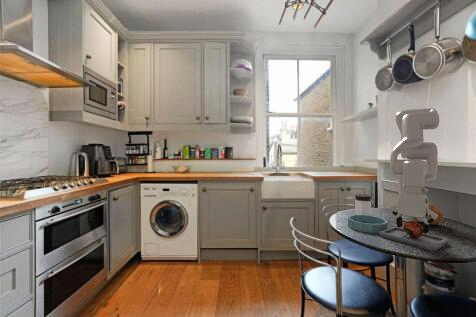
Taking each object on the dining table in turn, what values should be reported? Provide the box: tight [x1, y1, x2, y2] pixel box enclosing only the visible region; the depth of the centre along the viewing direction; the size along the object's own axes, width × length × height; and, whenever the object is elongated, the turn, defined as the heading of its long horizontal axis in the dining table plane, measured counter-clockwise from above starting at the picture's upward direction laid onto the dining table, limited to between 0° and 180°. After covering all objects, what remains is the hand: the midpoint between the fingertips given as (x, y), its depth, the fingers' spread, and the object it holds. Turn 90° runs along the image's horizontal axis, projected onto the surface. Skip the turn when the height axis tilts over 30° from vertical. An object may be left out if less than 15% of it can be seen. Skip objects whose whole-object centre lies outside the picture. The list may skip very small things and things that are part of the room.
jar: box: [354, 193, 372, 216], centre depth 143 cm, size 9×8×12 cm
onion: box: [428, 204, 444, 225], centre depth 126 cm, size 10×10×10 cm
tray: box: [378, 226, 449, 253], centre depth 104 cm, size 14×20×2 cm
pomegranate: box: [402, 221, 423, 238], centre depth 104 cm, size 7×7×10 cm
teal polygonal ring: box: [347, 214, 388, 234], centre depth 122 cm, size 17×17×4 cm
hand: (412, 229), depth 104 cm, fingers open, 9 cm apart
